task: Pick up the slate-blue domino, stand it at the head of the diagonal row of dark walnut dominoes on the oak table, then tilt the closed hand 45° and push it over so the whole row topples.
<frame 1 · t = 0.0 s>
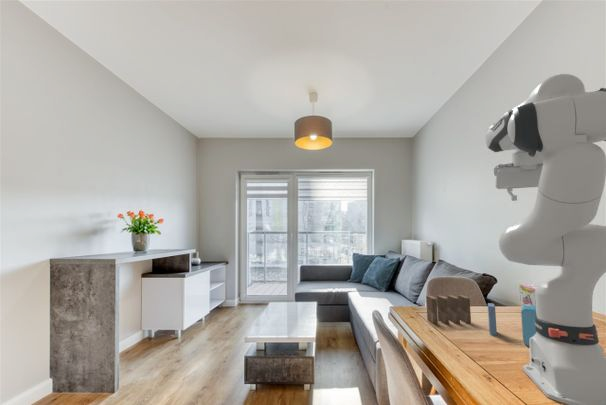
hand: (530, 199, 107), 48 cm above the table, tool pointing down, fingers open, 8 cm apart
candy bar box: (537, 334, 107), on the table
domino 3: (454, 321, 122), on the table
domino 4: (443, 321, 122), on the table
data package: (547, 348, 95), on the table
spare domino: (493, 333, 109), on the table
domino 2: (465, 321, 122), on the table
domino 5: (432, 322, 122), on the table
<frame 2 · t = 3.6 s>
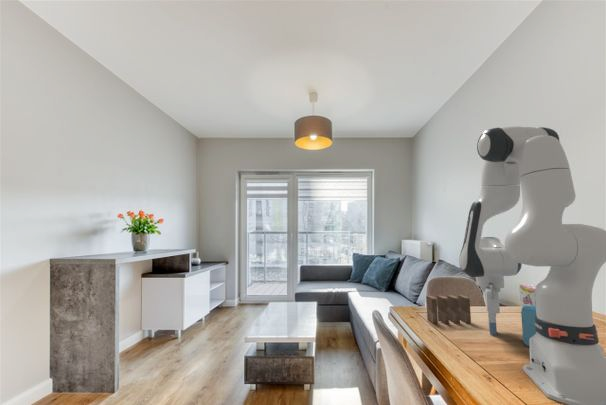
hand: (492, 319, 109), 5 cm above the table, tool pointing down, fingers closed on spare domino, 5 cm apart
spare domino: (493, 333, 109), on the table, touching gripper
everything else where it was.
when the fingers open (6 cm above the table, at t = 9.3 s): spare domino stays where it is, on the table.
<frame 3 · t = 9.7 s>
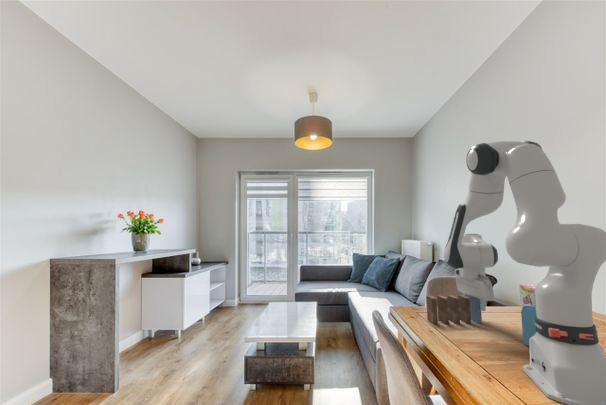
hand: (475, 307, 123), 6 cm above the table, tool pointing down, fingers open, 8 cm apart
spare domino: (475, 321, 122), on the table
everything else where it was.
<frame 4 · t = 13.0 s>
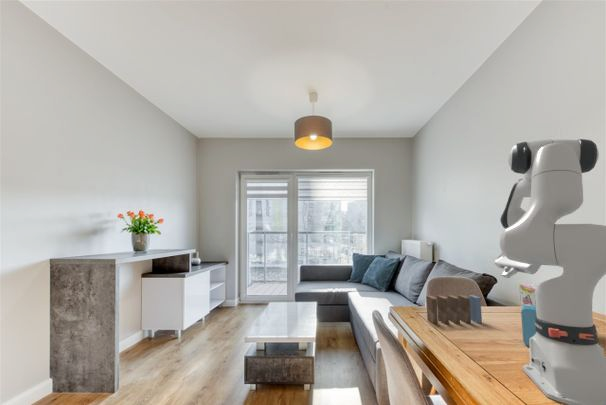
hand: (504, 276, 125), 18 cm above the table, tool tilted 45°, fingers closed
nothing on the table moved.
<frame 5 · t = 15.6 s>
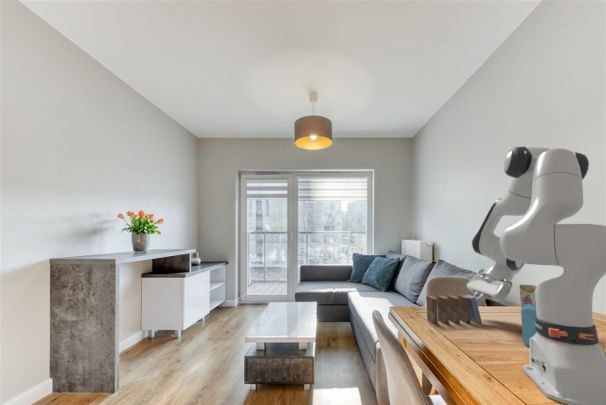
hand: (474, 302, 123), 8 cm above the table, tool tilted 45°, fingers closed
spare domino: (475, 320, 122), on the table, tilted 12°
everything else where it was.
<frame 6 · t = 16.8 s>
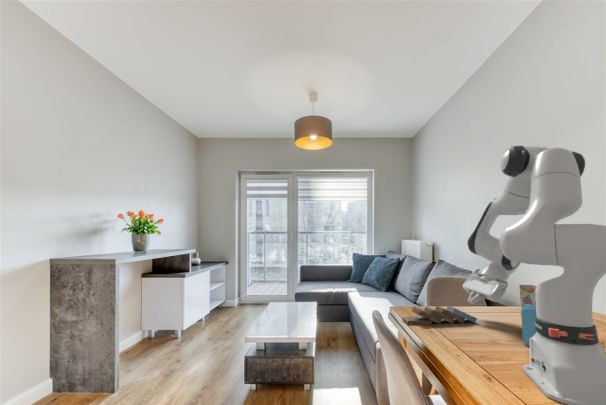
hand: (470, 302, 123), 8 cm above the table, tool tilted 45°, fingers closed
domino 3: (449, 319, 122), point 1 cm above the table, tilted 66°, touching domino 2, domino 4
domino 4: (437, 319, 122), point 1 cm above the table, tilted 66°, touching domino 3, domino 5
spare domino: (472, 319, 123), point 1 cm above the table, tilted 65°, touching domino 2
domino 2: (460, 319, 123), point 1 cm above the table, tilted 65°, touching domino 3, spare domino
domino 5: (429, 321, 122), on the table, tilted 90°, touching domino 4
everything else where it was.
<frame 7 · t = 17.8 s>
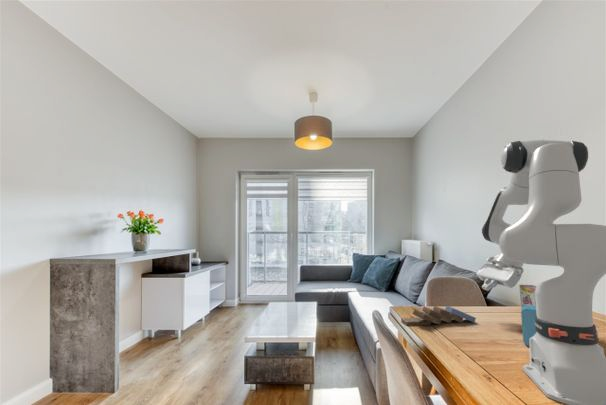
hand: (484, 289, 124), 13 cm above the table, tool tilted 45°, fingers closed
domino 3: (447, 319, 123), point 1 cm above the table, tilted 66°, touching domino 2
domino 4: (435, 319, 121), point 1 cm above the table, tilted 69°
domino 5: (427, 321, 121), on the table, tilted 90°
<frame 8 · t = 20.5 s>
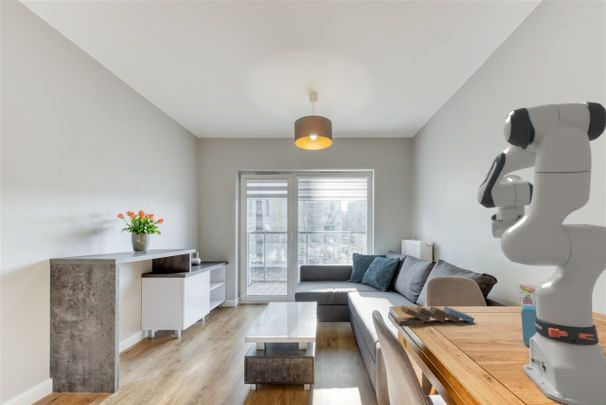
hand: (514, 250, 121), 29 cm above the table, tool pointing down, fingers closed
domino 3: (442, 318, 123), point 1 cm above the table, tilted 68°, touching domino 2, domino 4
domino 4: (426, 317, 122), point 2 cm above the table, tilted 68°, touching domino 3
domino 2: (456, 318, 123), point 1 cm above the table, tilted 68°, touching domino 3, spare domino
domino 5: (421, 321, 121), point 1 cm above the table, tilted 90°
at the end: domino 5 tilted 90°; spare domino tilted 69°; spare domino 5.7 cm from the domino 2 (horizontally) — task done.
